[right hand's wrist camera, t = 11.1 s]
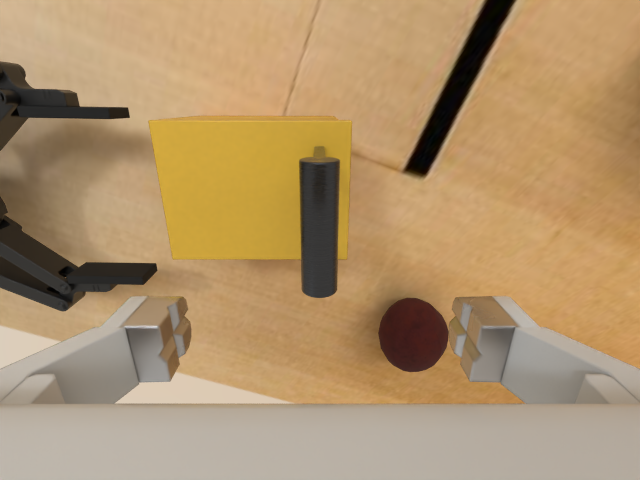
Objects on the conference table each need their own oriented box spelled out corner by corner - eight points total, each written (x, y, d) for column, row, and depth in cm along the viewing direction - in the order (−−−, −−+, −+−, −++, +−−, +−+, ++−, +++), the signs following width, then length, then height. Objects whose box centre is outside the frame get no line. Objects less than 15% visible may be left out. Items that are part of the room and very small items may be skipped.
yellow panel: (350, 120, 24) (368, 128, 15) (346, 253, 27) (358, 321, 19) (155, 119, 24) (61, 128, 15) (178, 253, 27) (113, 321, 19)
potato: (376, 345, 42) (387, 390, 35) (371, 290, 39) (381, 328, 32) (437, 338, 41) (459, 382, 35) (436, 282, 38) (460, 318, 32)
